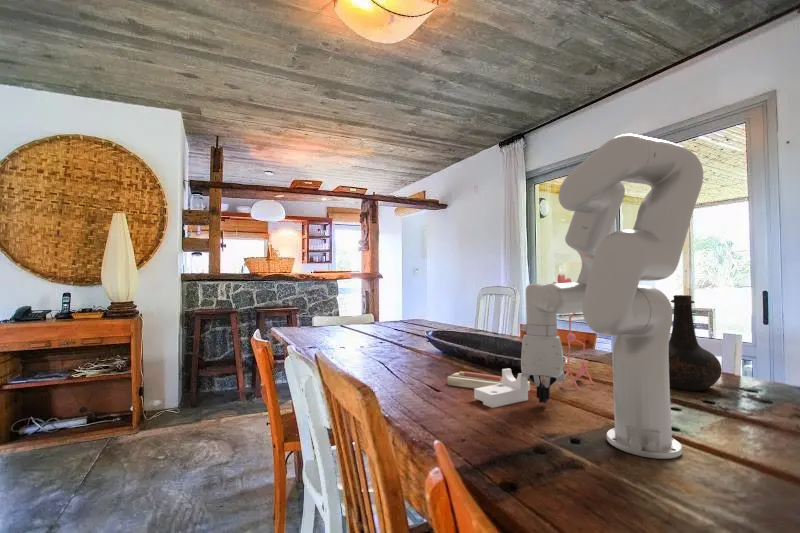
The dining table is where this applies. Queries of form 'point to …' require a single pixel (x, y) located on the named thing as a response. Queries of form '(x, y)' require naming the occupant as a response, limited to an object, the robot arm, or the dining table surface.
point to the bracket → (504, 390)
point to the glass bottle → (689, 352)
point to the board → (472, 381)
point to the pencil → (481, 376)
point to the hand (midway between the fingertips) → (543, 401)
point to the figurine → (571, 338)
